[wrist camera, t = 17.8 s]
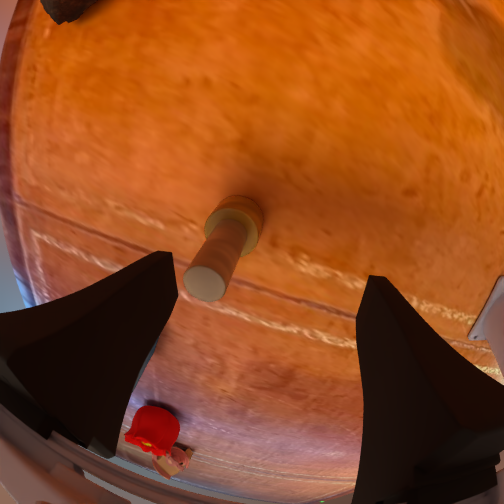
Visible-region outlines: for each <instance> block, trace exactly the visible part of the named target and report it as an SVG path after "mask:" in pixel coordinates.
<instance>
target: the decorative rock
mask: <svg viewBox="0 0 504 504" xmlns="http://www.w3.org/2000/svg"><path fill="white" fill-rule="evenodd" d="M40 1H41V3H42V5H43V7H44V9H45V11H46V12H47V13H48V14H49V15H50V17H51V18H52V19H53V20H54V22H56V23H57V24H58V25H60V24H62V23H63V22H65V21H67V22H68V23H70V22H72V21H74V20H77V19H78V18H79V17H80V15H81V14H83V12H84V11H85V9H87V8H88V7H89V6H91V5H92V4H93V3H95V2H96V1H97V0H40Z"/></svg>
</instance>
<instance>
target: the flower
mask: <svg viewBox="0 0 504 504" xmlns="http://www.w3.org/2000/svg"><path fill="white" fill-rule="evenodd" d="M179 431H180V424H179V421H178V420H177V419H176V418H175V417H174V416H173V415H172V414H171V413H170V412H169V411H167V410H165V409H163V408H160V407H156V406H143V407H141V408H139V409H138V411H137V412H136V414H135V416H134V418H133V421H132V426H131V428H130V430H129V431H128V432H126V433H125V434H124V435H125V441H126V442H130V443H131V444H134V445H138V446H139V447H141V448H142V450H143V451H144V452H149V451H151V452H152V453H153V454H154V455H156V456H162V455H164V456H165V457H166V450H167V451H168V452H169V455H170V456H171V448H172V446H173V444H174V443H175V442H176V440H177V437H178V435H179Z"/></svg>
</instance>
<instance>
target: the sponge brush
mask: <svg viewBox="0 0 504 504" xmlns="http://www.w3.org/2000/svg"><path fill="white" fill-rule="evenodd" d="M263 223H264V219H263V214H262V212H261V209H260V208H259V206H258V205H257V204H256V203H255V202H253V201H252V200H250V199H249V198H246V197H243V196H231V197H228V198H226V199H224V200H223V201H221V202H220V203H219V205H218V206H217V207H216V208H215V210H214V211H213V212H212V213H211V215H210V216H209V217H208V219H207V221H206V223H205V237H206V241H205V242H204V244H203V245H202V247H201V248H200V250H199V251H198V253H197V254H196V256H195V258H194V259H193V261H192V262H191V264H190V265H189V267H188V268H187V270H186V271H185V273H184V276H183V282H184V285H185V288H186V289H187V291H188V292H189V293H190V294H191V295H192V296H193V297H195V298H197V299H199V300H201V301H205V302H213V301H217V300H219V299H221V298H222V297H223V296H224V294H225V292H226V289H227V287H228V285H229V282H230V280H231V277H232V275H233V272H234V270H235V267H236V265H237V263H238V260H239V258H240V257H243V256H245V255H247V254H249V253H250V252H252V251H253V249H254V248H255V247H256V245H257V242H258V240H259V237H260V234H261V231H262V228H263Z"/></svg>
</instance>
